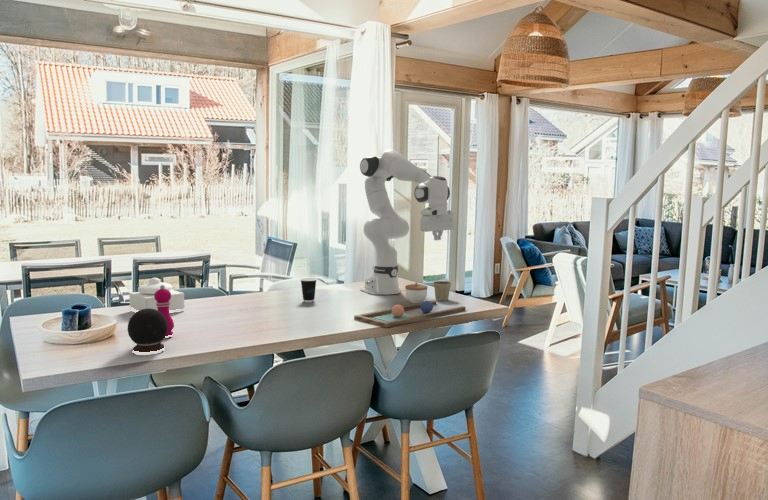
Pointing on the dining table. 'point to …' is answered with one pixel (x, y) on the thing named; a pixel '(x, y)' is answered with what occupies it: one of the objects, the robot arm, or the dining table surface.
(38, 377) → the dining table surface
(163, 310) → the pepper mill
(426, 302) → the blue ball
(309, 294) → the dixie cup
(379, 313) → the guard rails
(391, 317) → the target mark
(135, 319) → the black ball on stand
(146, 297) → the butter dish
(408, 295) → the lidded jar
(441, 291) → the flower pot
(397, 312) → the coral ball
